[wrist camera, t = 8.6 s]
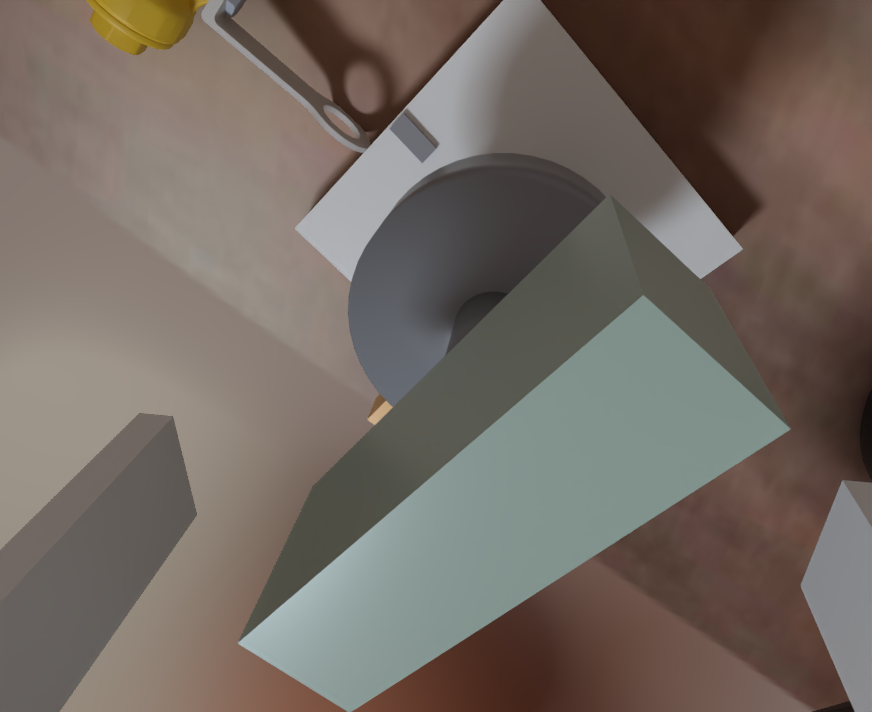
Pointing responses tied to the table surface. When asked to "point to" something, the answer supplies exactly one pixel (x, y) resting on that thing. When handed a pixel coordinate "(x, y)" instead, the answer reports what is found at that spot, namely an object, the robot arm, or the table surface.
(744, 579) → the table surface
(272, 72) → the pressure relief valve
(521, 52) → the base
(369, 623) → the cap
